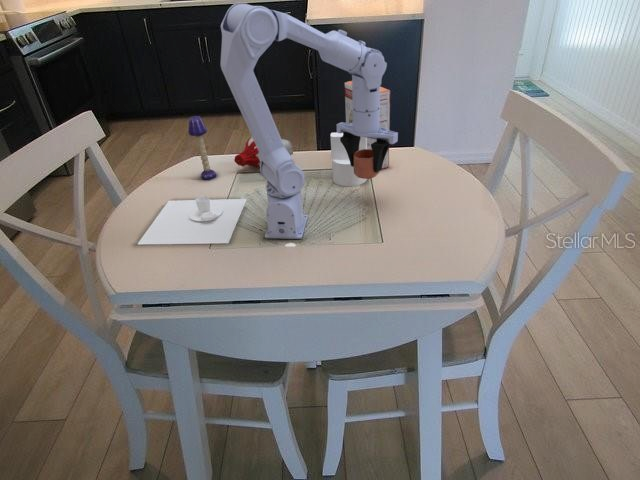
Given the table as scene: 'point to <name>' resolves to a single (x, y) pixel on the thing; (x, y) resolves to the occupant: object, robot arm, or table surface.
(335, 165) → the cylinder with rectangular tab
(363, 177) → the pot
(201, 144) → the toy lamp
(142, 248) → the table surface
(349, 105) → the cracker box
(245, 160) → the white lump red frill
